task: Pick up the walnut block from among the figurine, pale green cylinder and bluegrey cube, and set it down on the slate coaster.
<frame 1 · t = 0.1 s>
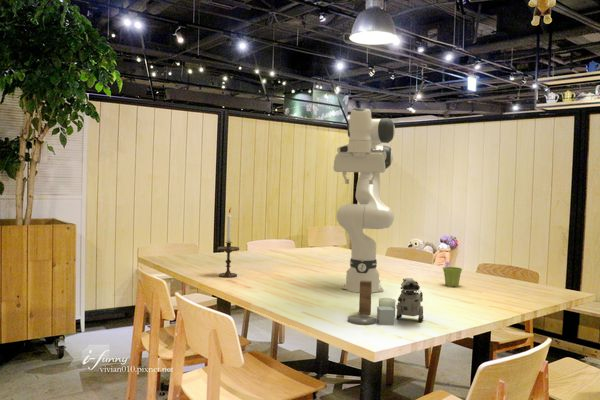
hand: (358, 184, 199), 48 cm above the table, tool pointing down, fingers open, 8 cm apart
plant pot: (451, 286, 247), on the table
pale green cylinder: (386, 316, 185), on the table
bluegrey cube: (385, 322, 176), on the table
candlestick: (227, 276, 256), on the table
slate coaster: (362, 320, 177), on the table
walnut block: (364, 313, 187), on the table
figurine: (408, 321, 178), on the table
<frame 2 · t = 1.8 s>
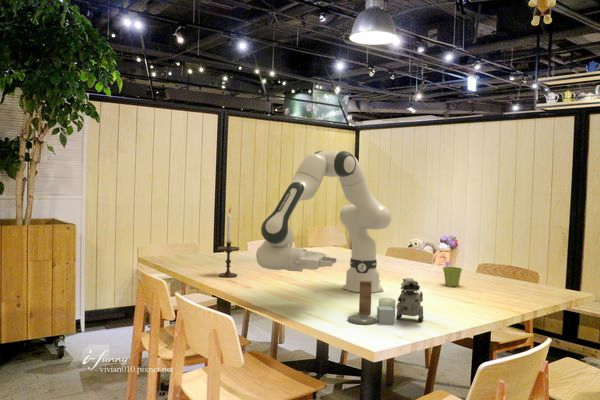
hand: (334, 262, 189), 18 cm above the table, tool horizontal, fingers open, 8 cm apart
nothing on the table moved.
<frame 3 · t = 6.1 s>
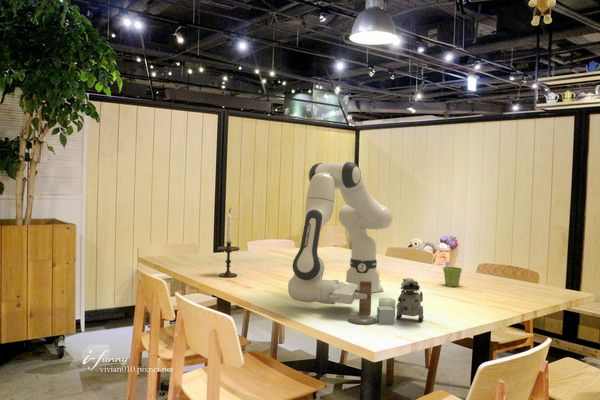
hand: (367, 294, 187), 7 cm above the table, tool horizontal, fingers closed on walnut block, 4 cm apart
walnut block: (364, 313, 187), on the table, touching gripper
everything else where it was.
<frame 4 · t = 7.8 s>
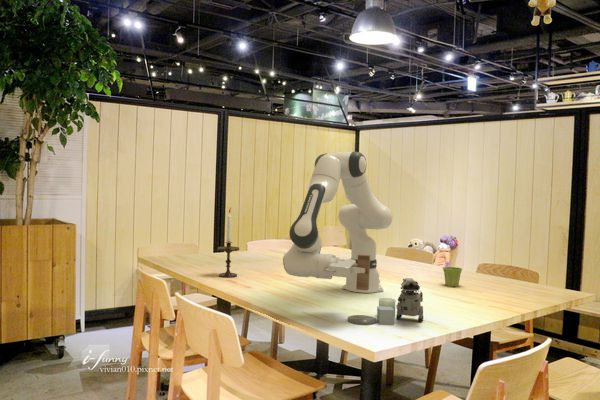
hand: (365, 269, 179), 18 cm above the table, tool horizontal, fingers closed on walnut block, 4 cm apart
walnut block: (362, 288, 179), point 11 cm above the table, touching gripper
everything else where it was.
when the fingers open (9 cm above the table, at t = 9.8 s): walnut block drops 1 cm, resting on slate coaster.
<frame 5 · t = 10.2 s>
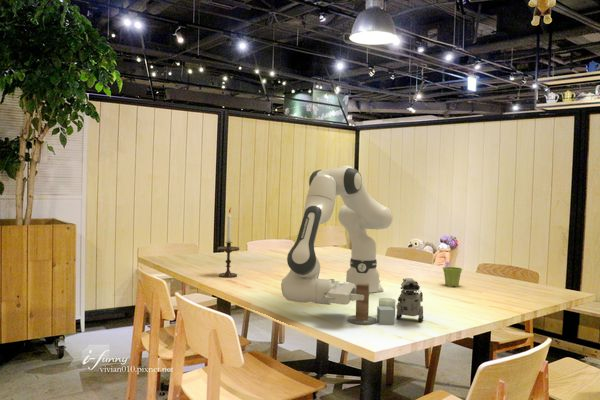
hand: (365, 294, 176), 9 cm above the table, tool horizontal, fingers open, 8 cm apart
walnut block: (362, 318, 177), point 1 cm above the table, touching slate coaster
everything else where it was.
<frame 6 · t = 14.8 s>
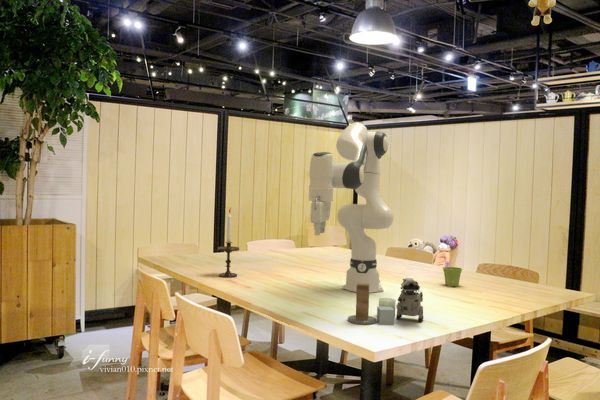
hand: (319, 234, 185), 29 cm above the table, tool pointing down, fingers open, 8 cm apart
nothing on the table moved.
at the end: walnut block 0.1 cm from the slate coaster (horizontally); walnut block tilted 0°; walnut block point 0.8 cm above the table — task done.
